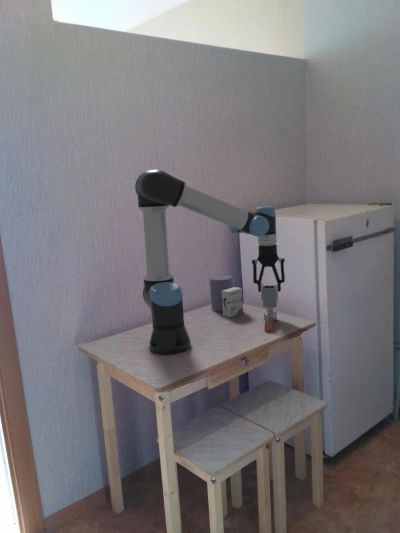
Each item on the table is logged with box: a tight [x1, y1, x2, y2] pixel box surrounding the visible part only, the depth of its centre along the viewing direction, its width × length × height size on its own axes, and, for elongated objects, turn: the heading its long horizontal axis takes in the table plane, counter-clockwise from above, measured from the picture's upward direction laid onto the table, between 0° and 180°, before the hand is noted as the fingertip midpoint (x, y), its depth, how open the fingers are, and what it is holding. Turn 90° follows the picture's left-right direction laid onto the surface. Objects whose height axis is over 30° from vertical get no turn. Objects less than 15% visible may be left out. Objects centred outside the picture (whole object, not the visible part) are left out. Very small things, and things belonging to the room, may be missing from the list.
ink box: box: [222, 286, 244, 318], centre depth 210 cm, size 9×5×12 cm, turn 133°
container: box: [209, 274, 234, 312], centre depth 220 cm, size 10×10×15 cm
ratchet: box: [263, 307, 278, 333], centre depth 193 cm, size 5×18×8 cm, turn 168°
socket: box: [262, 284, 278, 308], centre depth 198 cm, size 6×6×8 cm
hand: (269, 299), depth 198 cm, fingers closed on socket, 5 cm apart
